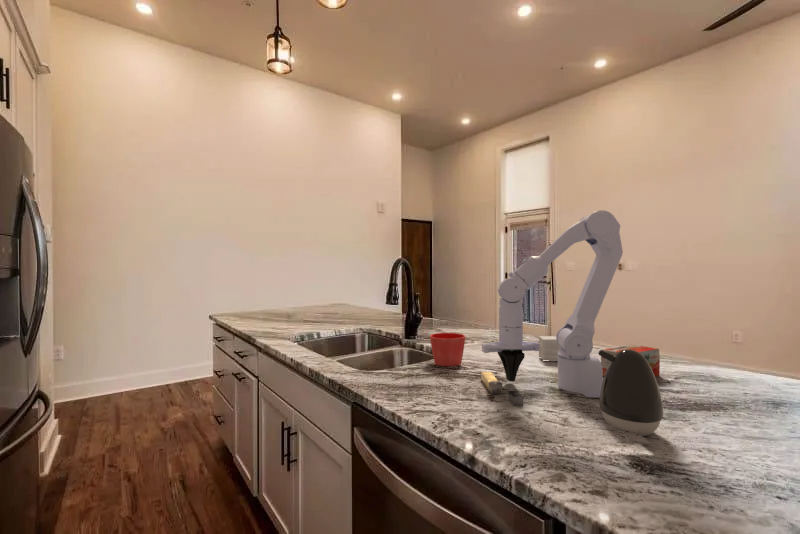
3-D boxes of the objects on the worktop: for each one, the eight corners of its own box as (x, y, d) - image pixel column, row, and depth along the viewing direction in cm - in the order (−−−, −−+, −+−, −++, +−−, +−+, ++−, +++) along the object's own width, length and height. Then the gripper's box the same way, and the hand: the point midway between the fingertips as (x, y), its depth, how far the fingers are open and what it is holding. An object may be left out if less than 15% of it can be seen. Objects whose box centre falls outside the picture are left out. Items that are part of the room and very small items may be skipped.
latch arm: (503, 394, 86) (503, 385, 86) (490, 394, 87) (490, 385, 87) (492, 379, 98) (492, 371, 98) (480, 379, 98) (480, 371, 98)
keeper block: (517, 400, 83) (517, 390, 83) (523, 406, 79) (523, 397, 79) (508, 400, 83) (508, 390, 83) (513, 406, 79) (513, 397, 79)
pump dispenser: (604, 415, 78) (604, 341, 78) (665, 428, 71) (665, 348, 71) (592, 431, 70) (592, 350, 70) (660, 449, 63) (660, 359, 63)
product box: (557, 357, 127) (557, 336, 127) (562, 362, 121) (562, 339, 121) (538, 357, 128) (538, 335, 128) (542, 361, 122) (542, 339, 122)
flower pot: (424, 364, 119) (424, 333, 119) (456, 361, 123) (456, 331, 123) (438, 373, 109) (437, 339, 109) (471, 369, 112) (471, 337, 112)
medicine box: (631, 369, 113) (630, 343, 113) (660, 376, 106) (660, 348, 106) (599, 377, 106) (599, 348, 106) (629, 384, 98) (629, 354, 98)
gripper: (529, 323, 100) (529, 374, 100) (477, 324, 97) (477, 376, 97) (544, 327, 93) (543, 382, 93) (488, 328, 90) (488, 385, 90)
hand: (510, 380), depth 95 cm, fingers closed
